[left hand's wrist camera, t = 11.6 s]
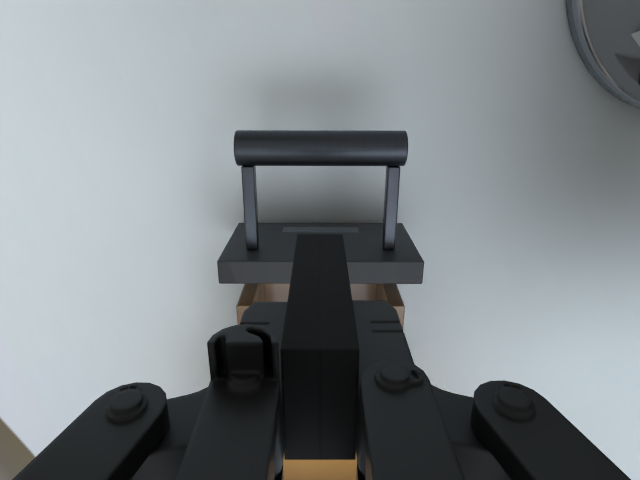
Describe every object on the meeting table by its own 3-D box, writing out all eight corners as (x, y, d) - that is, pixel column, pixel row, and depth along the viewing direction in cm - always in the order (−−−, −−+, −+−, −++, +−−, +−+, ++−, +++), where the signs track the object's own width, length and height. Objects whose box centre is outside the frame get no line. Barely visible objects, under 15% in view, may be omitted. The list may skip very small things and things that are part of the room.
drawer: (232, 122, 25) (205, 135, 19) (409, 122, 25) (435, 135, 19) (253, 446, 33) (239, 523, 27) (386, 446, 33) (400, 523, 27)
